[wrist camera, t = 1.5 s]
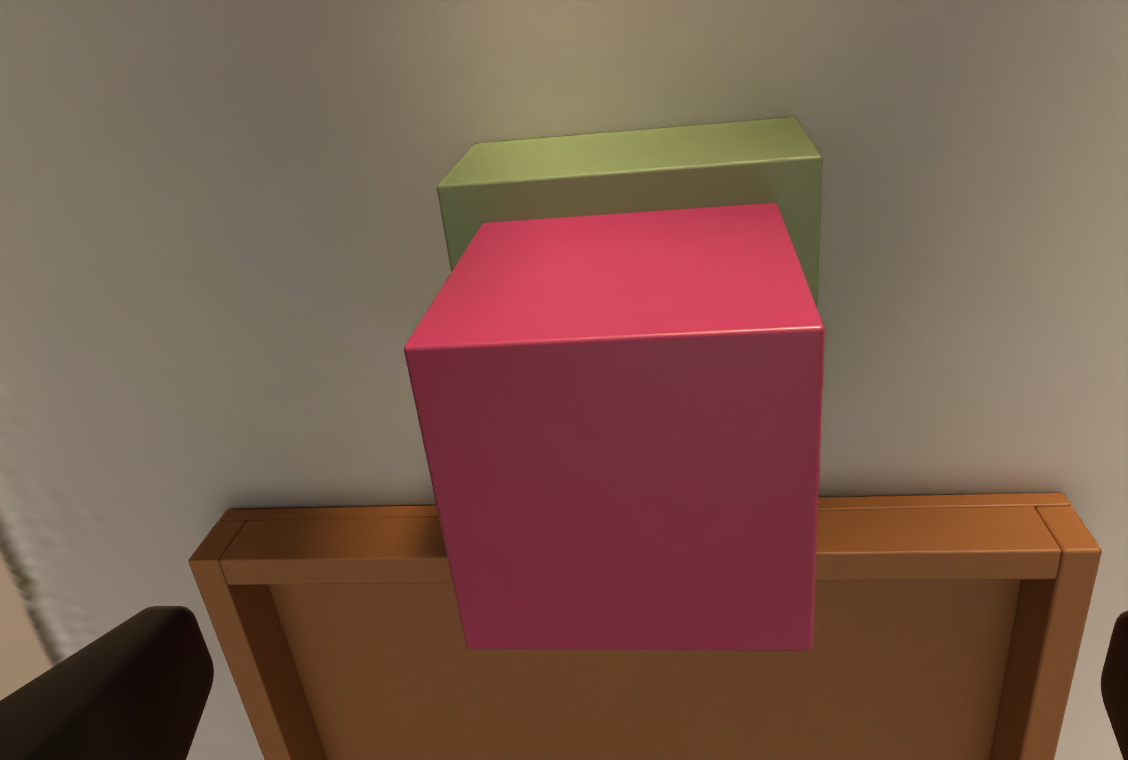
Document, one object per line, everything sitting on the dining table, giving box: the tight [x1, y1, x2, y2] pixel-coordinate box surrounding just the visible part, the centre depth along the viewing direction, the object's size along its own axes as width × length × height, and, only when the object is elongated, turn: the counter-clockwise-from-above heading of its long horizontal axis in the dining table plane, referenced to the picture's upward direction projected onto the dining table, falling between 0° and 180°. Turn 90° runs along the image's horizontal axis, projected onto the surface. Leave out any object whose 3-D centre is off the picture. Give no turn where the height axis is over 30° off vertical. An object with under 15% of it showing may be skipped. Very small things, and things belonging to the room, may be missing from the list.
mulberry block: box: [404, 203, 825, 651], centre depth 13 cm, size 5×5×5 cm
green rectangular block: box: [437, 117, 822, 308], centre depth 17 cm, size 6×6×3 cm
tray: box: [188, 493, 1101, 760], centre depth 23 cm, size 21×14×2 cm, turn 96°
